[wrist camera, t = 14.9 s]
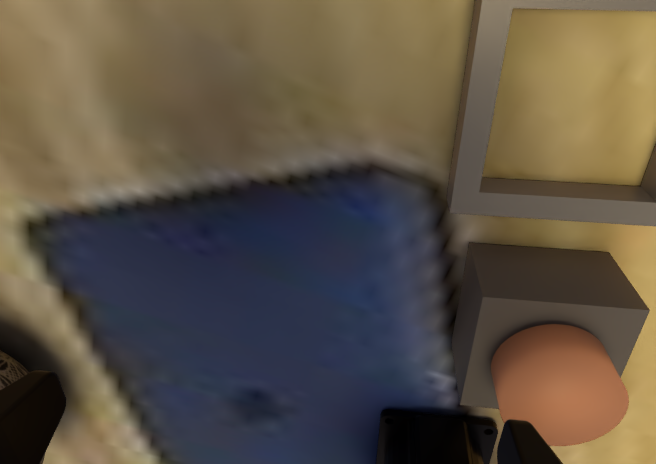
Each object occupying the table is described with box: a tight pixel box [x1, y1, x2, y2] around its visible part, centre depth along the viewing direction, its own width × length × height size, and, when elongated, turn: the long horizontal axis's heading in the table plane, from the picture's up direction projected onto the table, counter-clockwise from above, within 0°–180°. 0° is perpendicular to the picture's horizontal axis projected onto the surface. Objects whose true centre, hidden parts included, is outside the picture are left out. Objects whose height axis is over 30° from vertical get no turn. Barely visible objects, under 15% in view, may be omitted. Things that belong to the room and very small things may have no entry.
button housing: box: [451, 243, 650, 409], centre depth 21 cm, size 6×6×4 cm
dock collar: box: [447, 0, 656, 226], centre depth 18 cm, size 9×9×2 cm
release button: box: [491, 324, 629, 446], centre depth 20 cm, size 4×4×5 cm
